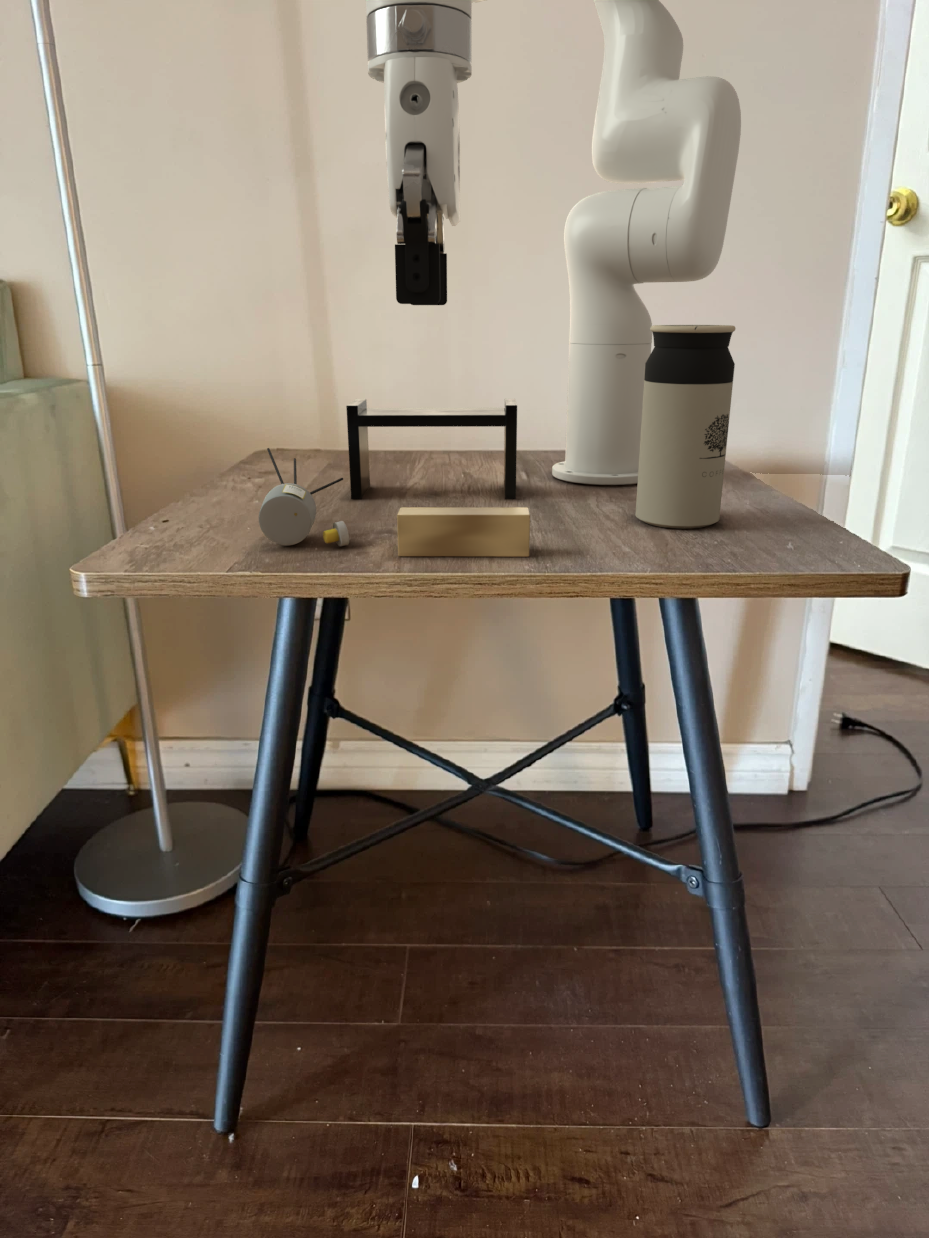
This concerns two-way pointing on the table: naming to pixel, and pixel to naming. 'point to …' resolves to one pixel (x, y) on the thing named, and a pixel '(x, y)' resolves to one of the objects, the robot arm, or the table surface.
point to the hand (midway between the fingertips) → (423, 304)
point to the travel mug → (685, 425)
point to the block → (463, 531)
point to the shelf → (426, 417)
